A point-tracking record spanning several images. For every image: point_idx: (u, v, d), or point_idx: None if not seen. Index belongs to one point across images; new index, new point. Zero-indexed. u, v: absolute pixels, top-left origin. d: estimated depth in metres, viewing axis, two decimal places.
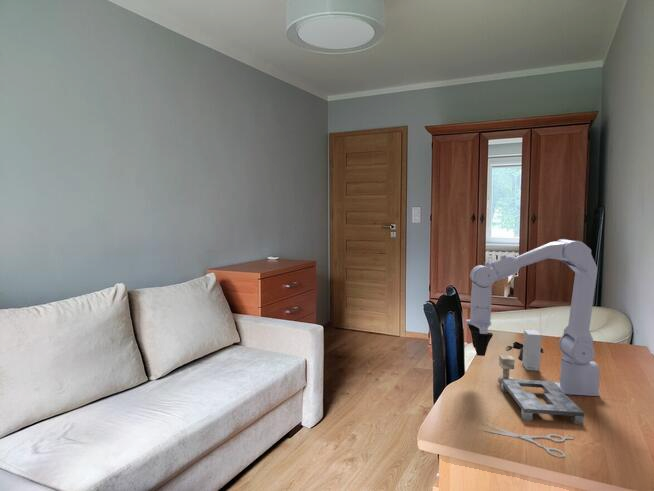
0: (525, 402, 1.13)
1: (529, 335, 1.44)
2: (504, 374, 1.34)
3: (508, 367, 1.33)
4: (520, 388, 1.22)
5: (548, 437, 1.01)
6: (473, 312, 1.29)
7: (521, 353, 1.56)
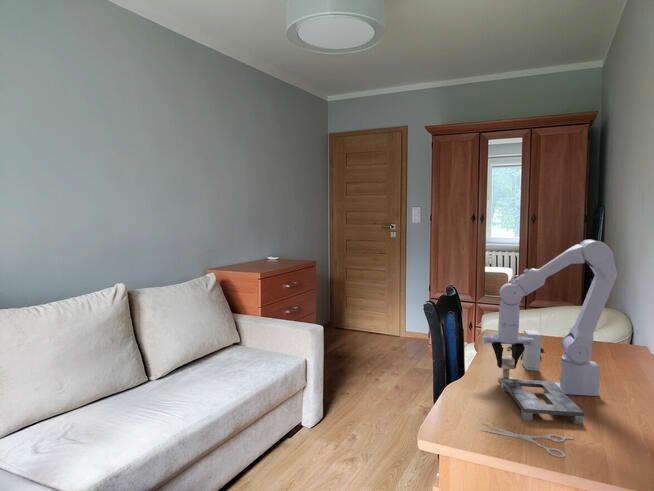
0: (525, 402, 1.13)
1: (529, 335, 1.44)
2: (504, 374, 1.34)
3: (508, 367, 1.33)
4: (520, 388, 1.22)
5: (548, 437, 1.01)
6: None
7: None
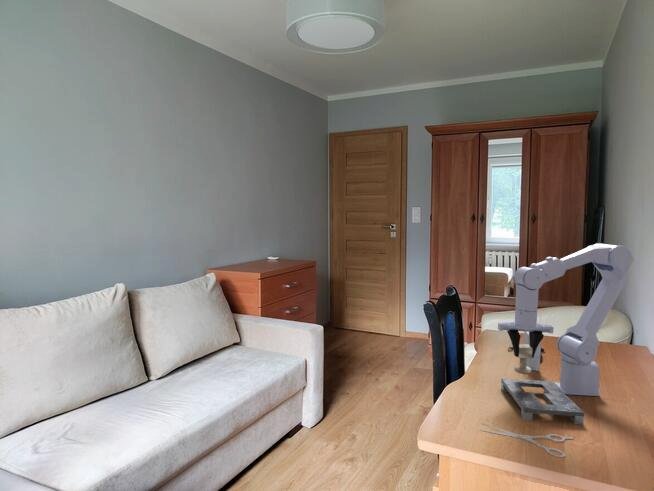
0: (525, 402, 1.13)
1: None
2: (521, 364, 1.27)
3: (525, 356, 1.25)
4: (520, 388, 1.22)
5: (548, 437, 1.01)
6: None
7: None
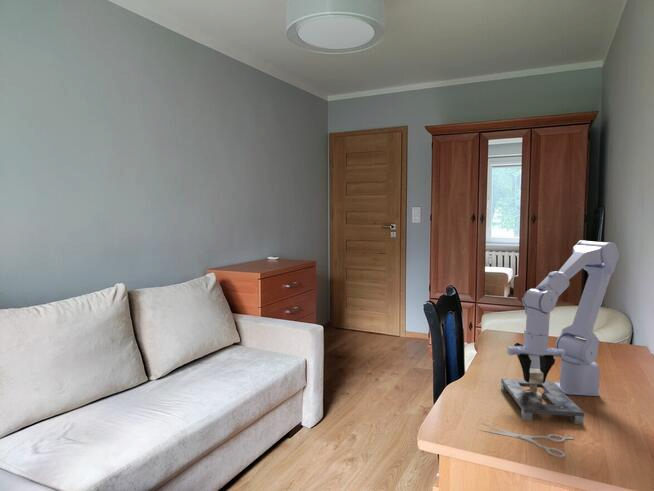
0: (525, 402, 1.13)
1: None
2: (531, 389, 1.22)
3: (536, 382, 1.21)
4: (520, 388, 1.22)
5: (548, 437, 1.01)
6: None
7: None
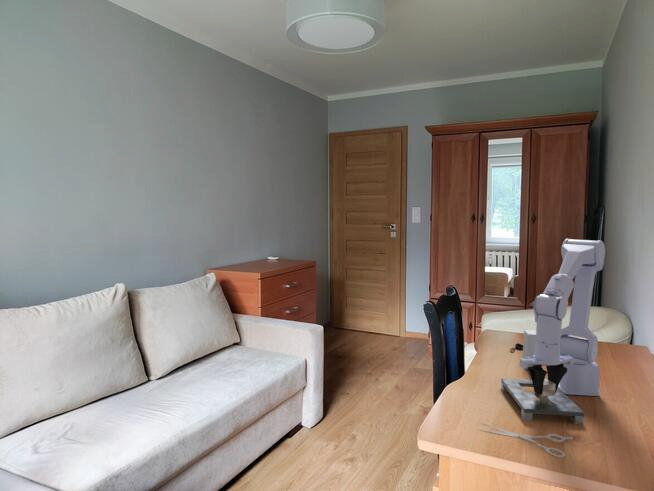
0: (525, 402, 1.13)
1: (529, 335, 1.44)
2: (543, 402, 1.14)
3: (549, 393, 1.13)
4: (520, 388, 1.22)
5: (548, 437, 1.01)
6: None
7: None
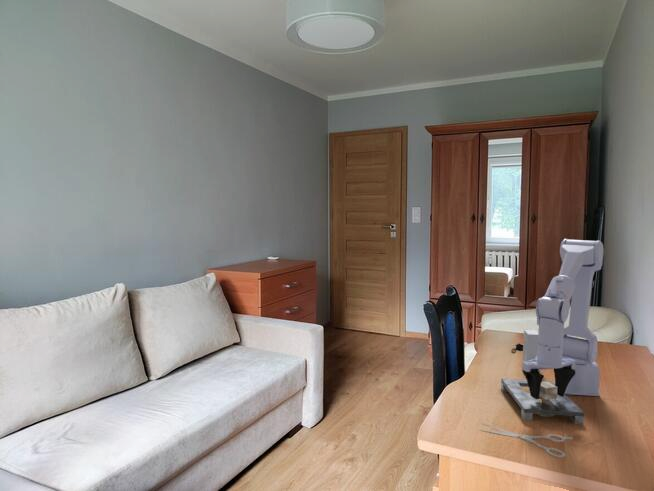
0: (525, 402, 1.13)
1: (529, 335, 1.44)
2: None
3: (551, 397, 1.12)
4: (520, 388, 1.22)
5: (548, 437, 1.01)
6: None
7: None
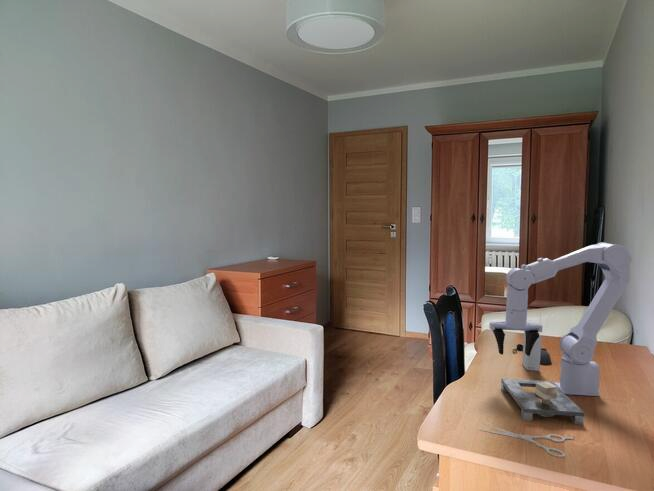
0: (525, 402, 1.13)
1: None
2: None
3: (551, 397, 1.12)
4: (520, 388, 1.22)
5: (548, 437, 1.01)
6: None
7: None
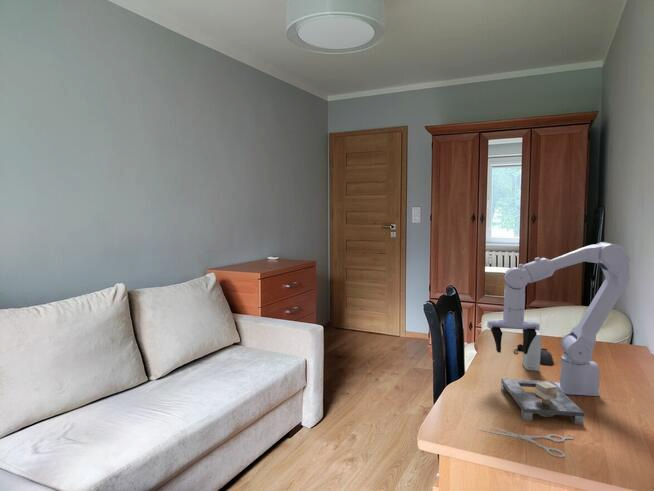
0: (525, 402, 1.13)
1: None
2: None
3: (551, 397, 1.12)
4: (520, 388, 1.22)
5: (548, 437, 1.01)
6: None
7: None
